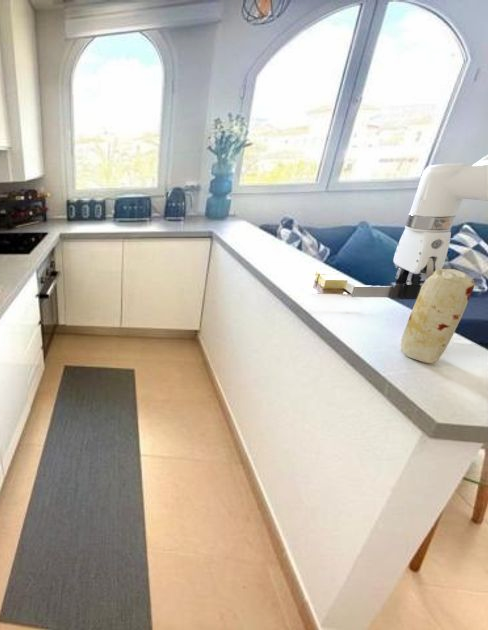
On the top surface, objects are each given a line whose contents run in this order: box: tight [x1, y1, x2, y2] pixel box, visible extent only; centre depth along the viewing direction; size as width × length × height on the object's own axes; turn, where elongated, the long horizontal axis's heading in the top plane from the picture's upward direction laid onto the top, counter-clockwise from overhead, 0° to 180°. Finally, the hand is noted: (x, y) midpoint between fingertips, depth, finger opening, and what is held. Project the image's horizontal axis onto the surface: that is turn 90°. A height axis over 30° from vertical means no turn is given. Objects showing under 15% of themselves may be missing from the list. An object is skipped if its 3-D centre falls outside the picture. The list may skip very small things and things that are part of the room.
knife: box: [350, 282, 424, 300], centre depth 87 cm, size 14×2×4 cm, turn 76°
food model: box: [399, 268, 476, 364], centre depth 74 cm, size 10×7×20 cm
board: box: [291, 275, 352, 295], centre depth 115 cm, size 14×16×2 cm
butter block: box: [318, 274, 348, 289], centre depth 112 cm, size 6×5×3 cm
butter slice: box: [314, 271, 340, 282], centre depth 117 cm, size 6×2×3 cm, turn 76°
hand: (403, 296), depth 86 cm, fingers closed on knife, 2 cm apart
